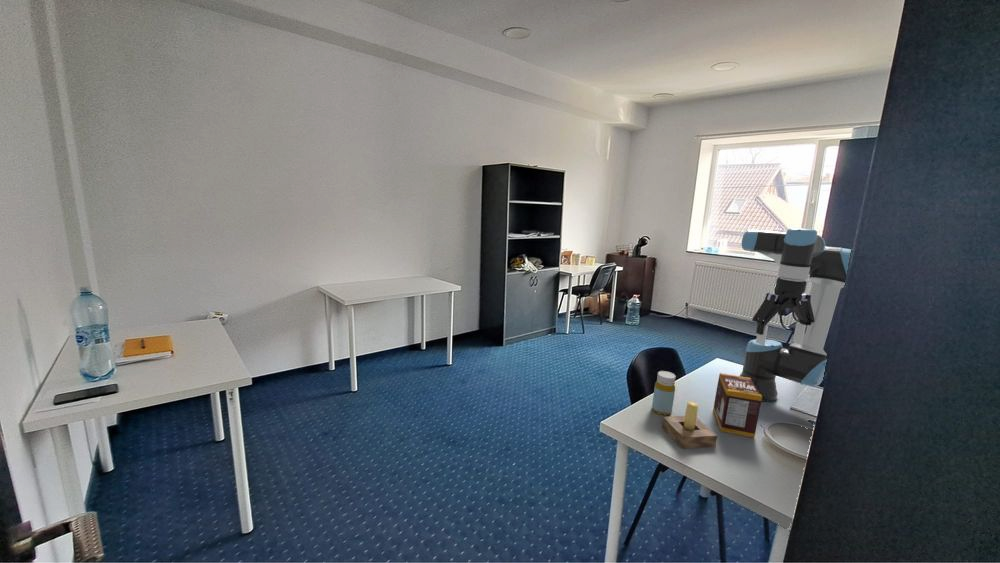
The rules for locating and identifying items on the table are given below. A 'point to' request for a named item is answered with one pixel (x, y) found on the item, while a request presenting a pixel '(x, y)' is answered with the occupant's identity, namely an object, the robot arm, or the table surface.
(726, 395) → the supplement box
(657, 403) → the bottle
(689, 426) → the peg
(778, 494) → the table surface
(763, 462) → the table surface
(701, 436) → the socket block
